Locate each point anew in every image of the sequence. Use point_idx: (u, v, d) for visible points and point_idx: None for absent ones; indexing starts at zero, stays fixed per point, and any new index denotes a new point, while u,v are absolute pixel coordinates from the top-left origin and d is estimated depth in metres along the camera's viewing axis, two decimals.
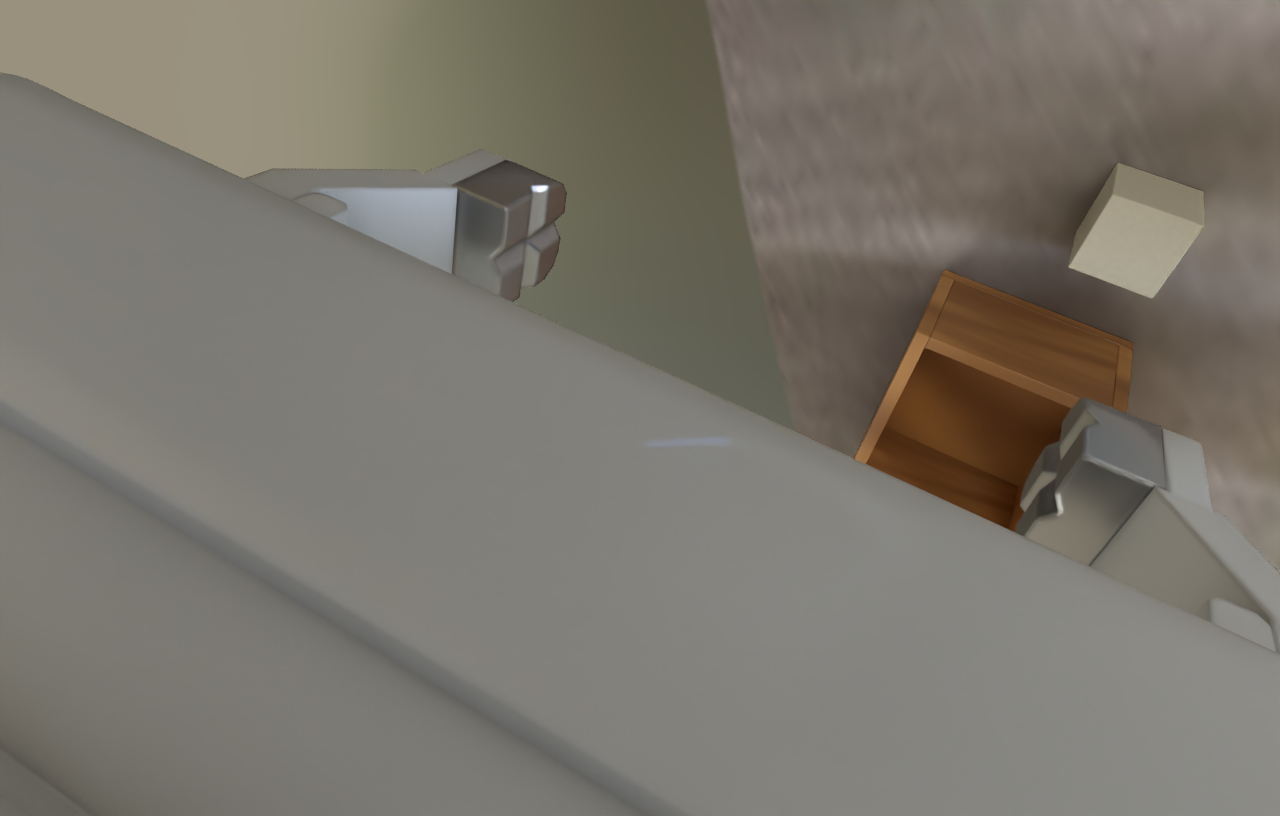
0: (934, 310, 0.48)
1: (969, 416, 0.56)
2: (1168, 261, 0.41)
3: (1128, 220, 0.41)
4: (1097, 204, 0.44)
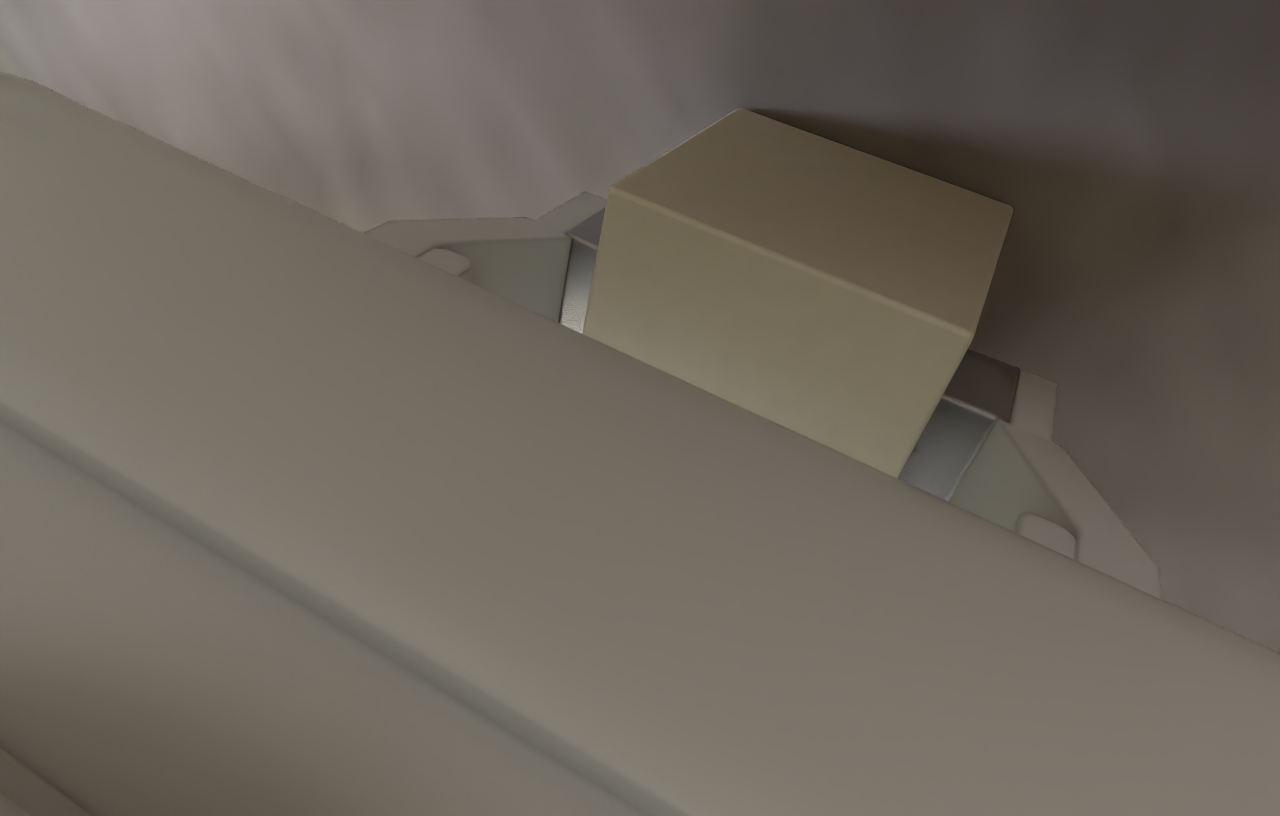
0: None
1: None
2: None
3: None
4: None
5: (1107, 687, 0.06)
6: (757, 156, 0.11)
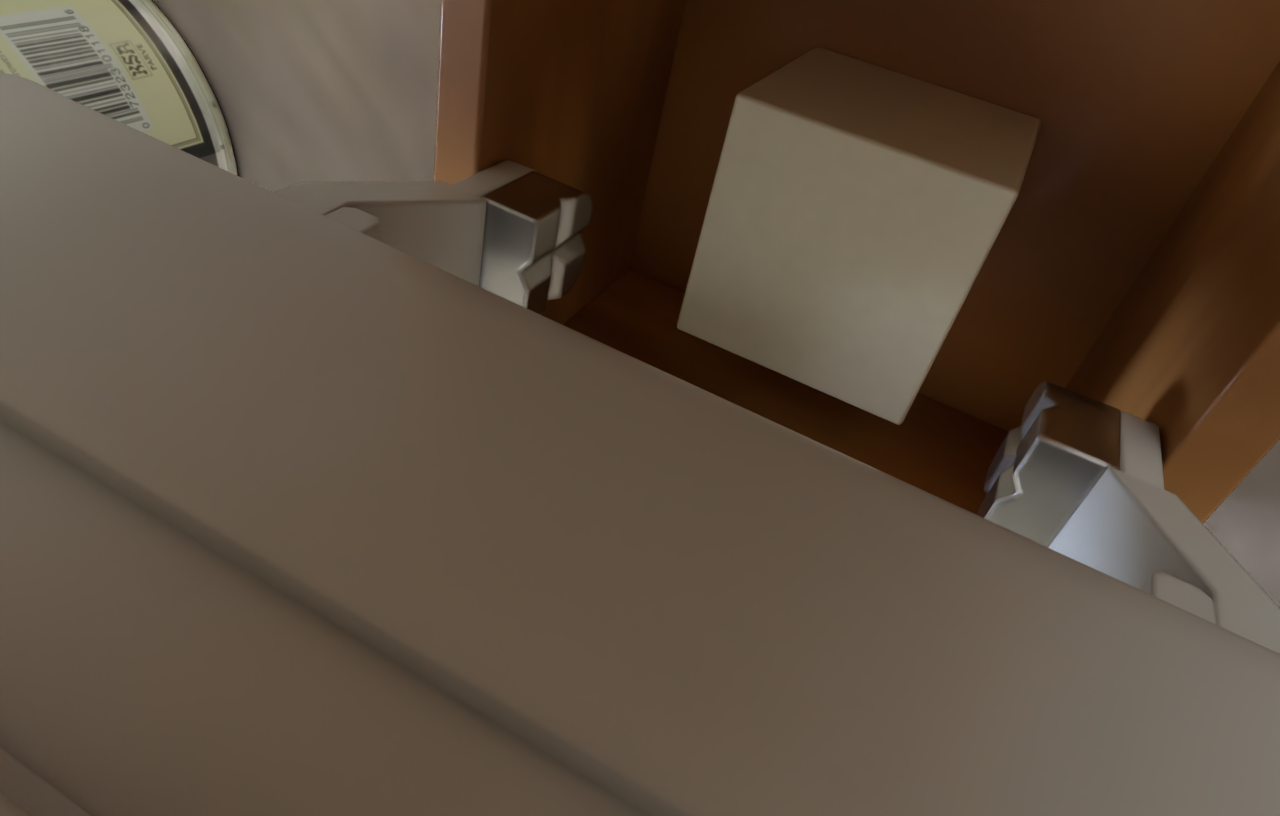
0: None
1: None
2: (725, 229, 0.14)
3: (847, 353, 0.14)
4: None
5: (1107, 687, 0.06)
6: (838, 78, 0.14)
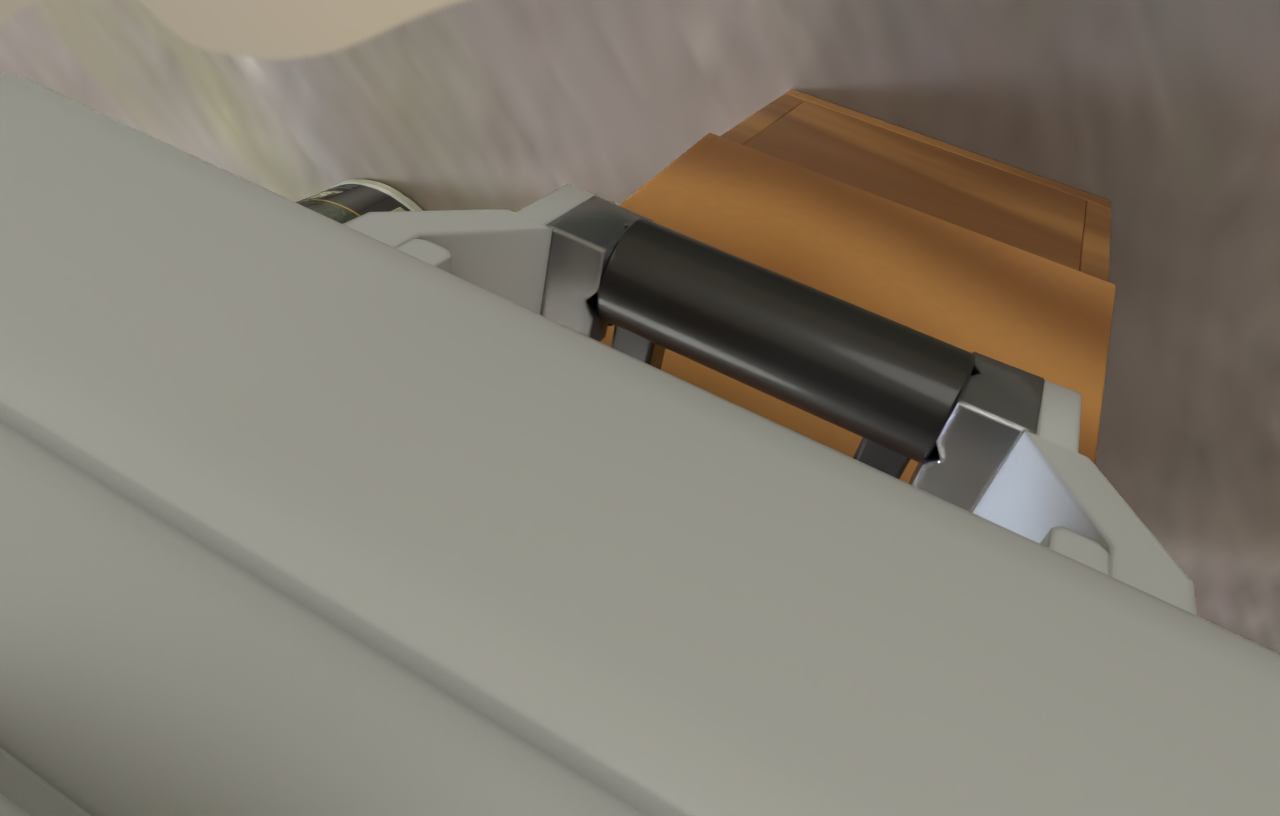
0: None
1: None
2: None
3: None
4: None
5: (1107, 687, 0.06)
6: None
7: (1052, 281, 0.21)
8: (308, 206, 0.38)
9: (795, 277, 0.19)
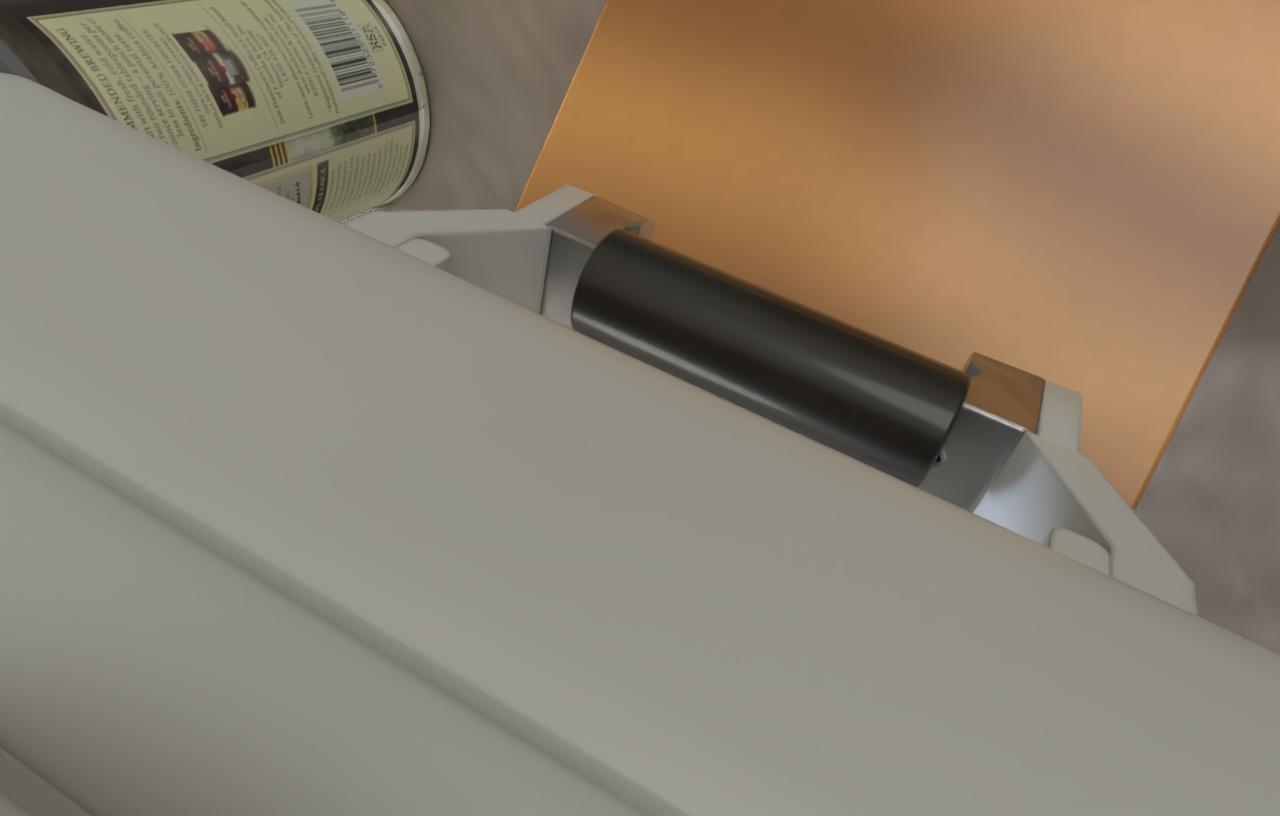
0: None
1: None
2: None
3: None
4: None
5: (1107, 687, 0.06)
6: None
7: None
8: None
9: None
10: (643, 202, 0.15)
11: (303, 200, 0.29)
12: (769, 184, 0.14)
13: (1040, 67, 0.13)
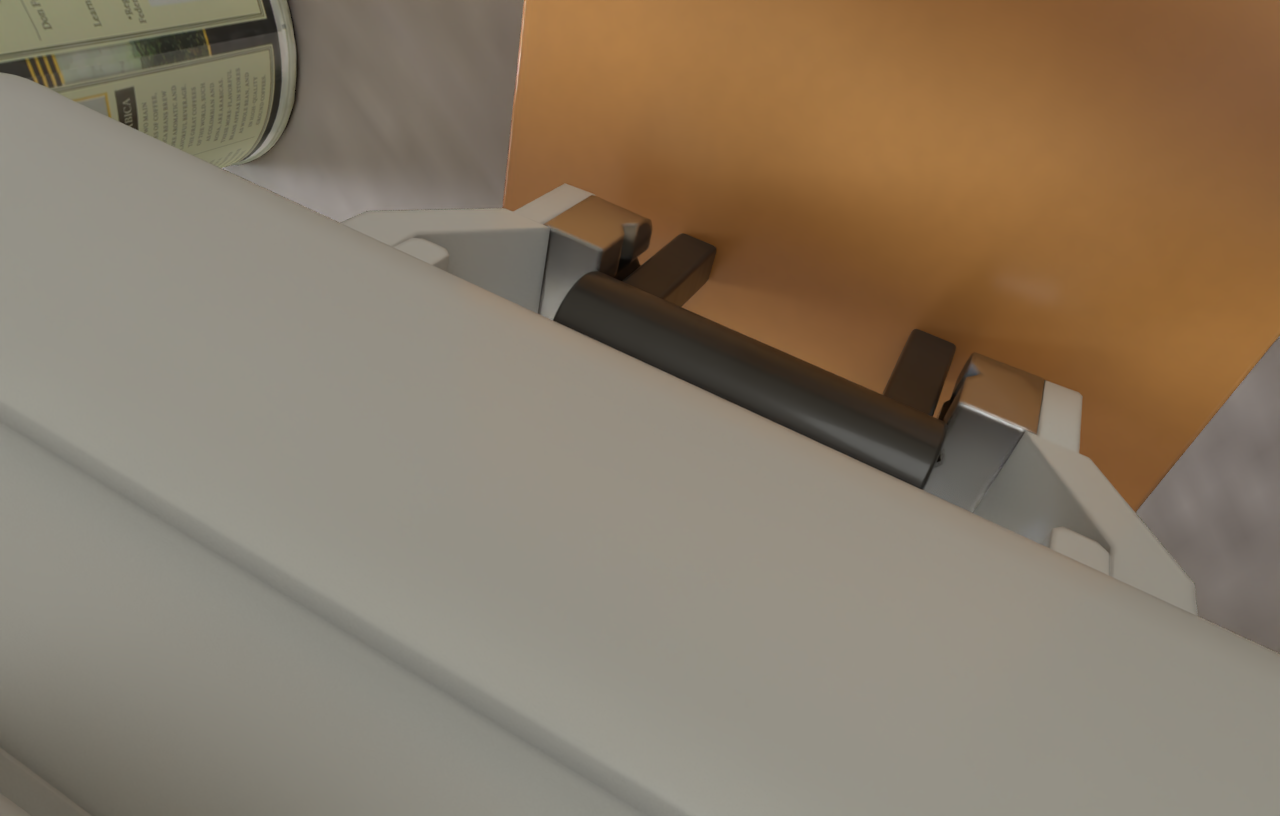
0: None
1: None
2: None
3: None
4: None
5: (1107, 686, 0.06)
6: None
7: None
8: None
9: None
10: (636, 119, 0.13)
11: None
12: (770, 90, 0.12)
13: None
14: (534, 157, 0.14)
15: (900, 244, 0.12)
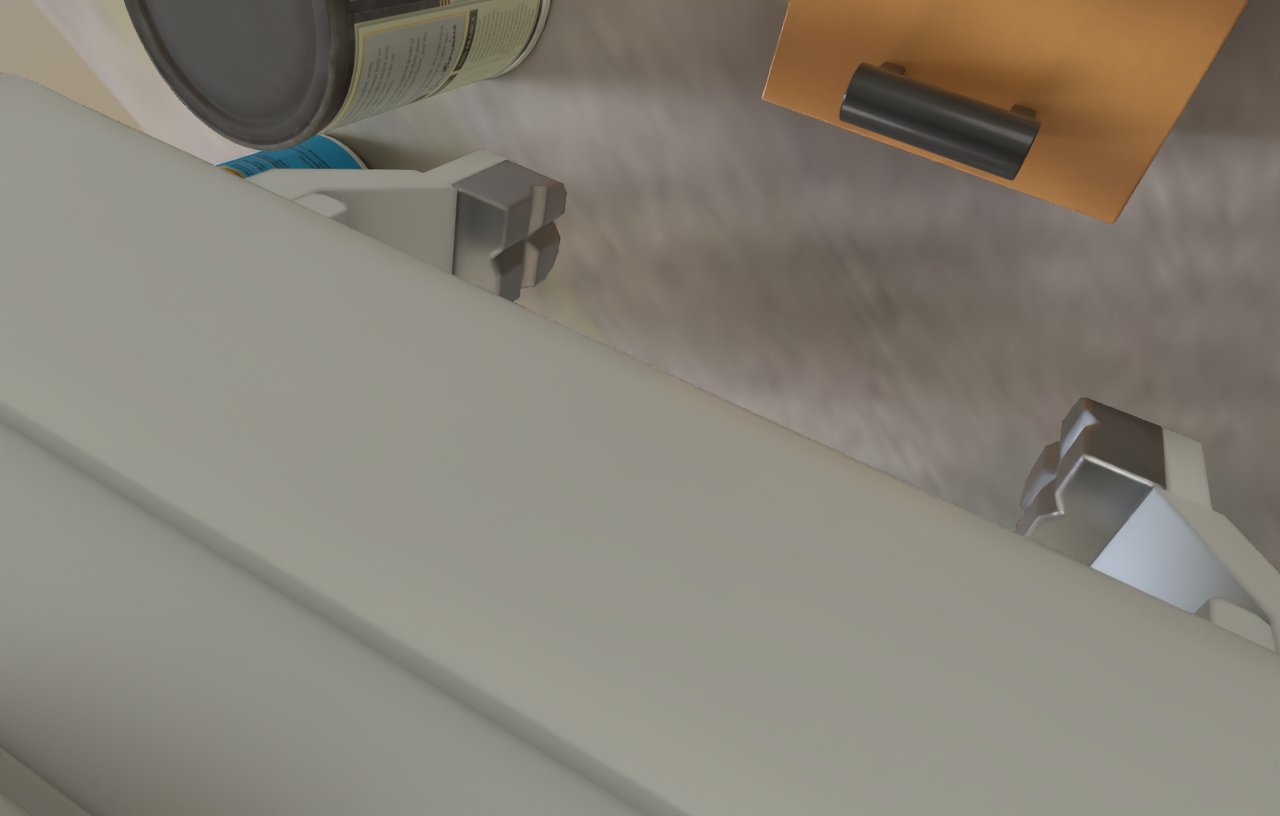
0: None
1: None
2: None
3: None
4: None
5: (1107, 687, 0.06)
6: None
7: None
8: None
9: None
10: None
11: (456, 45, 0.34)
12: None
13: None
14: (800, 24, 0.26)
15: (1009, 57, 0.24)
